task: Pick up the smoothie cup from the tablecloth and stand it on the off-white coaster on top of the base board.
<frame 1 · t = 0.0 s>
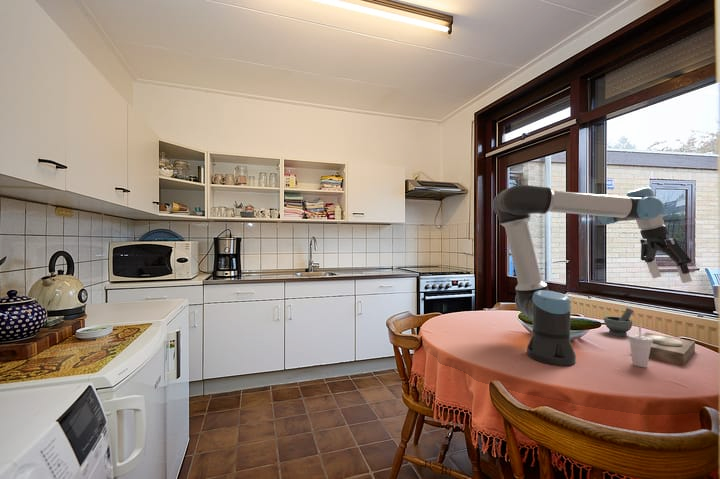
hand: (671, 279, 120), 28 cm above the table, tool tilted 20°, fingers open, 13 cm apart
smoothie: (639, 365, 108), on the table
base: (663, 352, 120), on the table
mortar and pestle: (619, 334, 142), on the table
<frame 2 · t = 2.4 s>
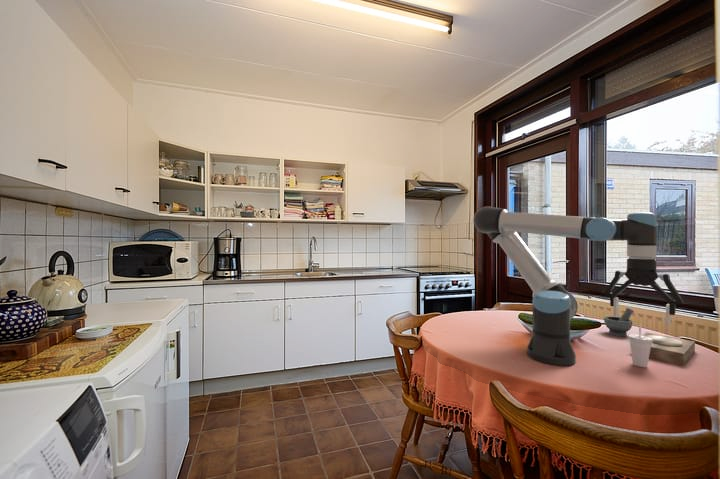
hand: (640, 320, 107), 15 cm above the table, tool pointing down, fingers open, 13 cm apart
nothing on the table moved.
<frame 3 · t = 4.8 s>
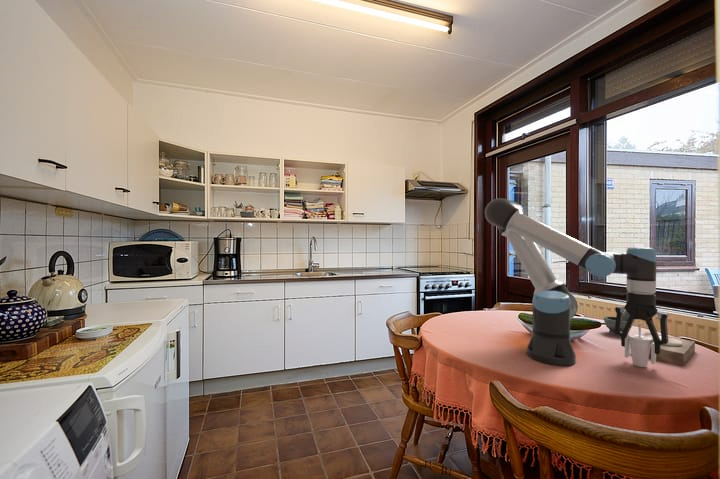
hand: (640, 359, 108), 2 cm above the table, tool pointing down, fingers closed on smoothie, 6 cm apart
smoothie: (639, 365, 108), on the table, touching gripper
everything else where it was.
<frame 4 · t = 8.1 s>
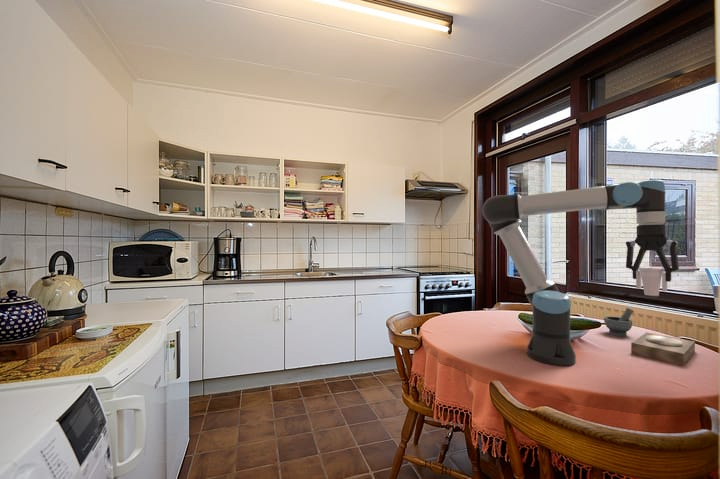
hand: (651, 289, 111), 25 cm above the table, tool pointing down, fingers closed on smoothie, 6 cm apart
smoothie: (651, 295, 111), point 23 cm above the table, touching gripper
everything else where it was.
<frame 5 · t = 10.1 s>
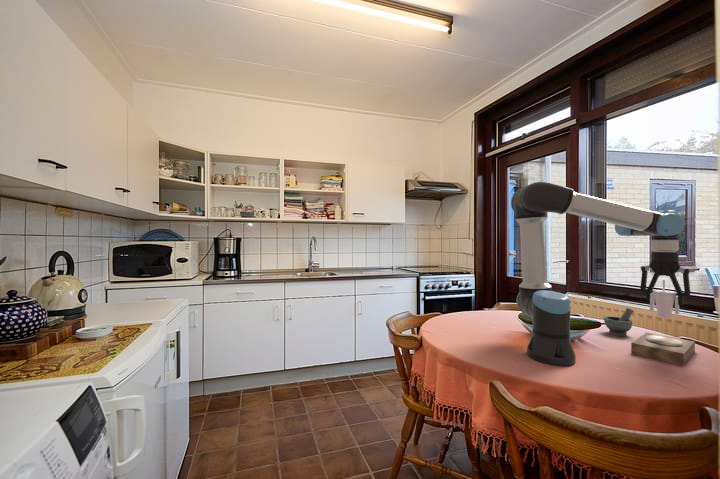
hand: (664, 311, 119), 16 cm above the table, tool pointing down, fingers closed on smoothie, 6 cm apart
smoothie: (664, 317, 119), point 14 cm above the table, touching gripper
everything else where it was.
when the fingers open (8 cm above the table, at t = 11.6 s): smoothie drops 1 cm, resting on base.
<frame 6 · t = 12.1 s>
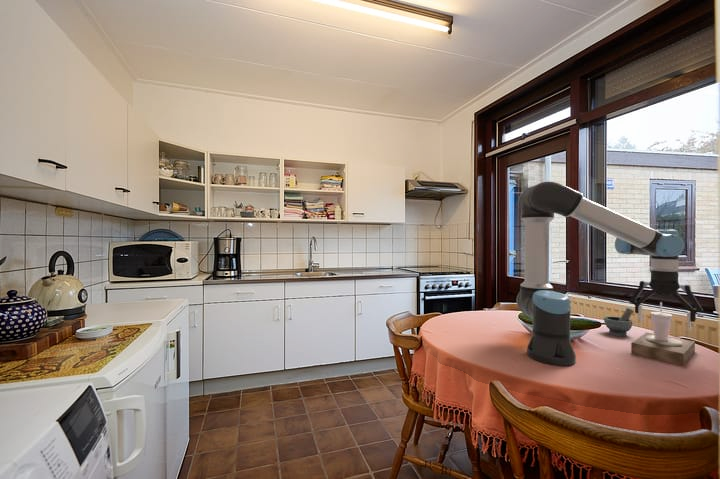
hand: (663, 325, 120), 10 cm above the table, tool pointing down, fingers open, 13 cm apart
smoothie: (661, 339, 120), point 5 cm above the table, touching base
everything else where it was.
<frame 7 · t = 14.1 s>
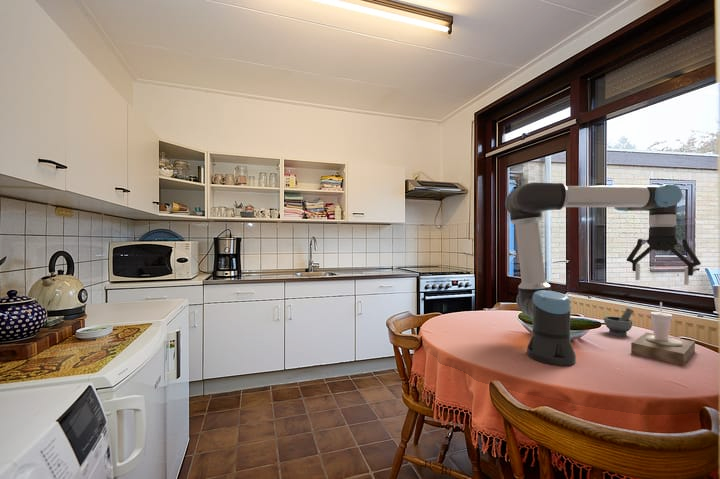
hand: (660, 282, 119), 27 cm above the table, tool pointing down, fingers open, 13 cm apart
nothing on the table moved.
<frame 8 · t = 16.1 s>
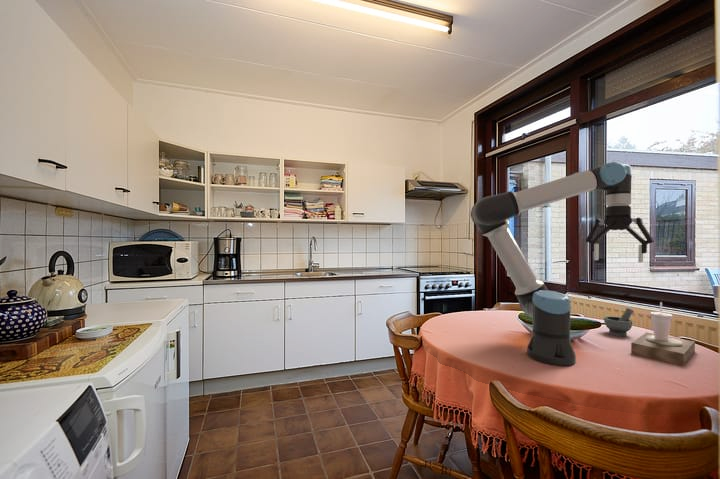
hand: (617, 261, 120), 35 cm above the table, tool pointing down, fingers open, 13 cm apart
nothing on the table moved.
at the end: smoothie inside the target area on the base (0.7 cm from its centre), point 4.8 cm above the base's base; smoothie tilted 0°; the gripper is holding nothing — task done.
